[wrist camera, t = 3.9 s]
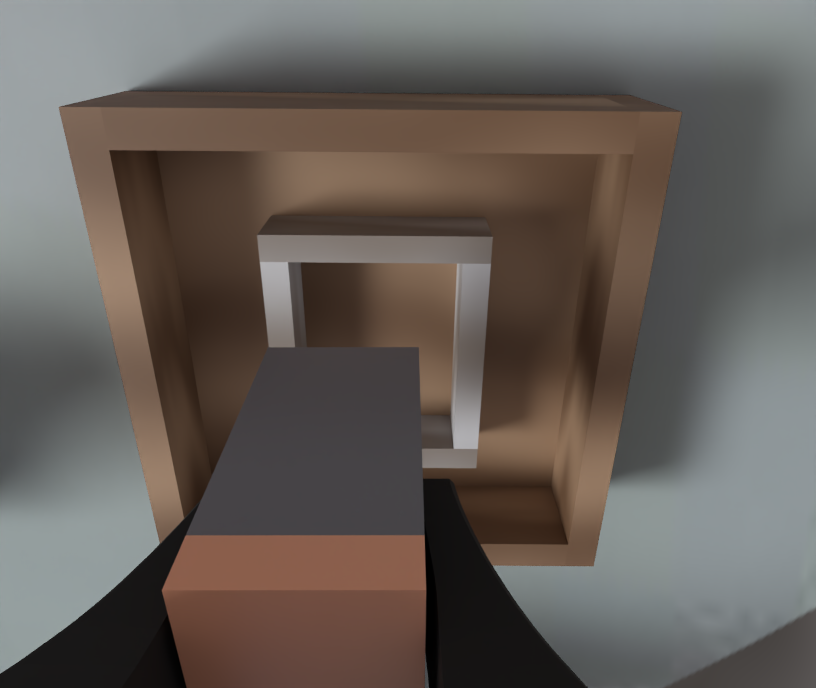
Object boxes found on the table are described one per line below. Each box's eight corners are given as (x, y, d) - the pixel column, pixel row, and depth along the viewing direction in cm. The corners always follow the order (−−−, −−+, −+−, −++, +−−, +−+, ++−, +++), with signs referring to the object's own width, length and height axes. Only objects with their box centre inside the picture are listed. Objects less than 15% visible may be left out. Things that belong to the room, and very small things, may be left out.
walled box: (567, 490, 25) (593, 566, 22) (198, 487, 25) (164, 562, 22) (630, 95, 19) (682, 112, 15) (125, 91, 19) (58, 106, 15)
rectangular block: (417, 512, 17) (423, 801, 11) (287, 512, 17) (215, 801, 11) (418, 347, 15) (426, 590, 8) (267, 347, 15) (161, 590, 8)
